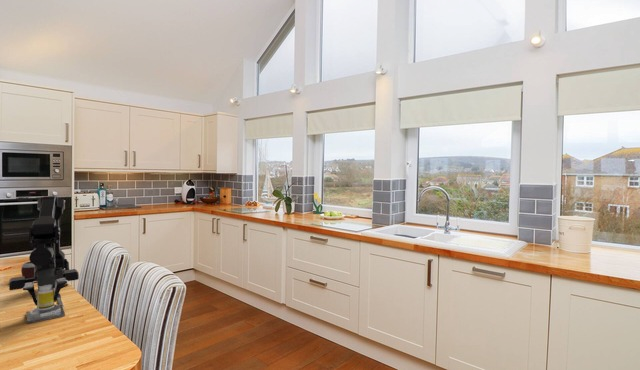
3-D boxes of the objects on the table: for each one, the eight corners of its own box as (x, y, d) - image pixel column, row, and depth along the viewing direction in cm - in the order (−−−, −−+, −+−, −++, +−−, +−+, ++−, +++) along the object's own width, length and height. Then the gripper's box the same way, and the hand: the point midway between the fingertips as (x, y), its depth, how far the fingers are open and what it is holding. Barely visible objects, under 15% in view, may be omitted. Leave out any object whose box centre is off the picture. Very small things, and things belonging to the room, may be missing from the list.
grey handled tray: (25, 301, 135) (24, 291, 135) (59, 295, 142) (59, 286, 142) (27, 323, 116) (27, 312, 116) (67, 315, 123) (67, 304, 123)
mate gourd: (25, 283, 156) (24, 249, 156) (18, 280, 160) (17, 247, 160) (45, 279, 162) (44, 246, 162) (38, 276, 167) (37, 244, 166)
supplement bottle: (57, 306, 124) (56, 283, 123) (42, 311, 120) (41, 287, 119) (49, 304, 126) (48, 281, 125) (33, 309, 122) (33, 285, 121)
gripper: (8, 268, 110) (9, 318, 110) (80, 259, 122) (81, 303, 123) (8, 261, 118) (9, 307, 119) (76, 253, 130) (76, 295, 131)
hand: (45, 303), depth 123 cm, fingers closed on supplement bottle, 5 cm apart
